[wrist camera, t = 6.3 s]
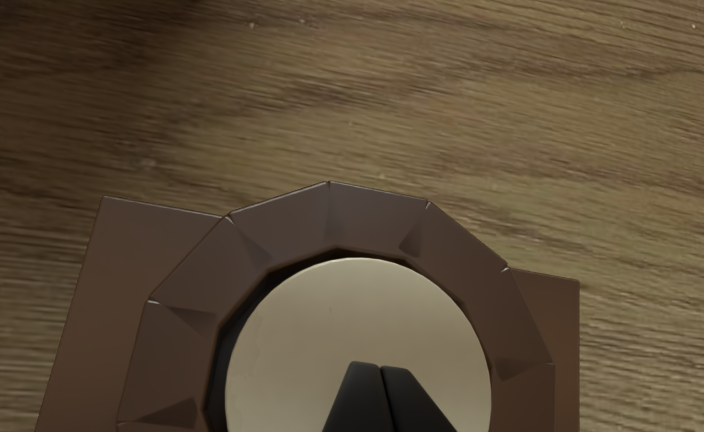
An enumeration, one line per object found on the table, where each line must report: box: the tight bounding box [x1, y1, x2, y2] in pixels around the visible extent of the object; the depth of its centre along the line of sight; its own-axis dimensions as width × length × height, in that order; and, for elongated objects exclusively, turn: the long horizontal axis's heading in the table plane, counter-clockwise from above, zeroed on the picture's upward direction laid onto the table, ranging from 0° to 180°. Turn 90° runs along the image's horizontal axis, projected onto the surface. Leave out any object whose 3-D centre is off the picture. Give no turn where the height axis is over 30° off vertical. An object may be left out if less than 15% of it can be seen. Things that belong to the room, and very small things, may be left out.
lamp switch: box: [225, 258, 491, 432], centre depth 10 cm, size 4×4×2 cm
